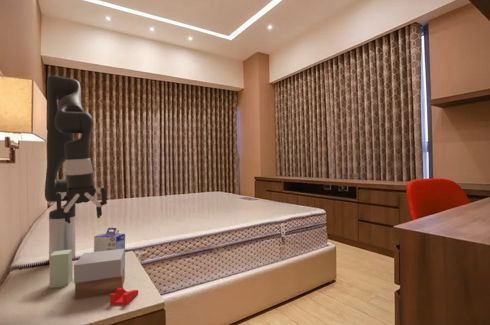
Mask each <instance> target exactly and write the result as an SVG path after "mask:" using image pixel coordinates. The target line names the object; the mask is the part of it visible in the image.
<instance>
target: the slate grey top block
mask: <svg viewBox="0 0 490 325" xmlns="http://www.w3.org/2000/svg"><path fill="white" fill-rule="evenodd" d="M124 264H125V265H126V248H125V249H116V250H108V251H99V252H94V251H93V252H92V251H91V252H83V254H82V255H81V256H80V258H78V260H77V261H76V262H75V263H74V264H73V283H74V284H75V283H79V282H86V281H93V280H100V279H106V278H113V277H120V276H121V274H122V271H123V267H124Z"/></svg>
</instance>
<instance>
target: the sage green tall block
mask: <svg viewBox="0 0 490 325" xmlns="http://www.w3.org/2000/svg"><path fill="white" fill-rule="evenodd" d="M72 281H73V258H72V249H71V250H62V251H54V252H53V253H52V254H51V255H50V261H49V289H53V288H60V287H65V286H70V284H71V282H72Z"/></svg>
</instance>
